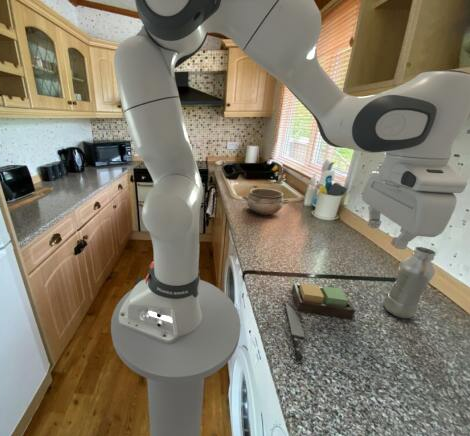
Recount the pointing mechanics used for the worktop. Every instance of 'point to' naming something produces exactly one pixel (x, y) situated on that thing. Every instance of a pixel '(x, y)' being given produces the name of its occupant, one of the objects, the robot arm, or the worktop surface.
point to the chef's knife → (295, 329)
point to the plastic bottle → (410, 283)
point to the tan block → (311, 293)
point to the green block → (334, 296)
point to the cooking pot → (265, 200)
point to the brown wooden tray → (321, 306)
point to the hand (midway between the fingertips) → (384, 236)
